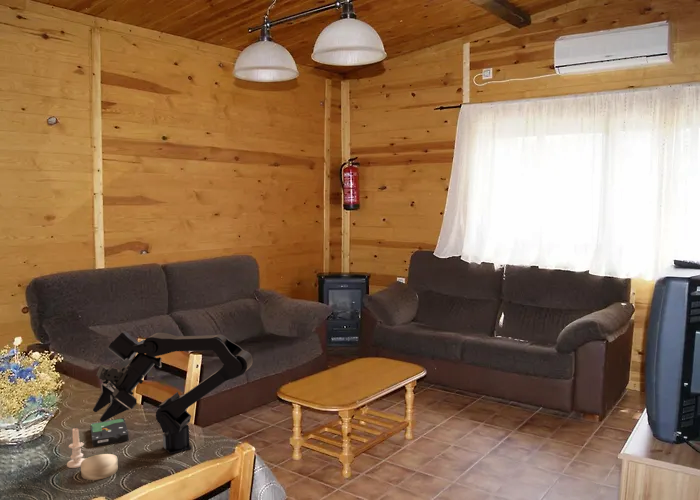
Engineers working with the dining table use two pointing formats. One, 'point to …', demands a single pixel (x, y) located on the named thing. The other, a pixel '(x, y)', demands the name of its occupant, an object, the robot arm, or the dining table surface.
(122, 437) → the disk drive
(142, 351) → the robot arm
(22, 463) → the dining table surface
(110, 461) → the stand
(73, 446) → the candle
